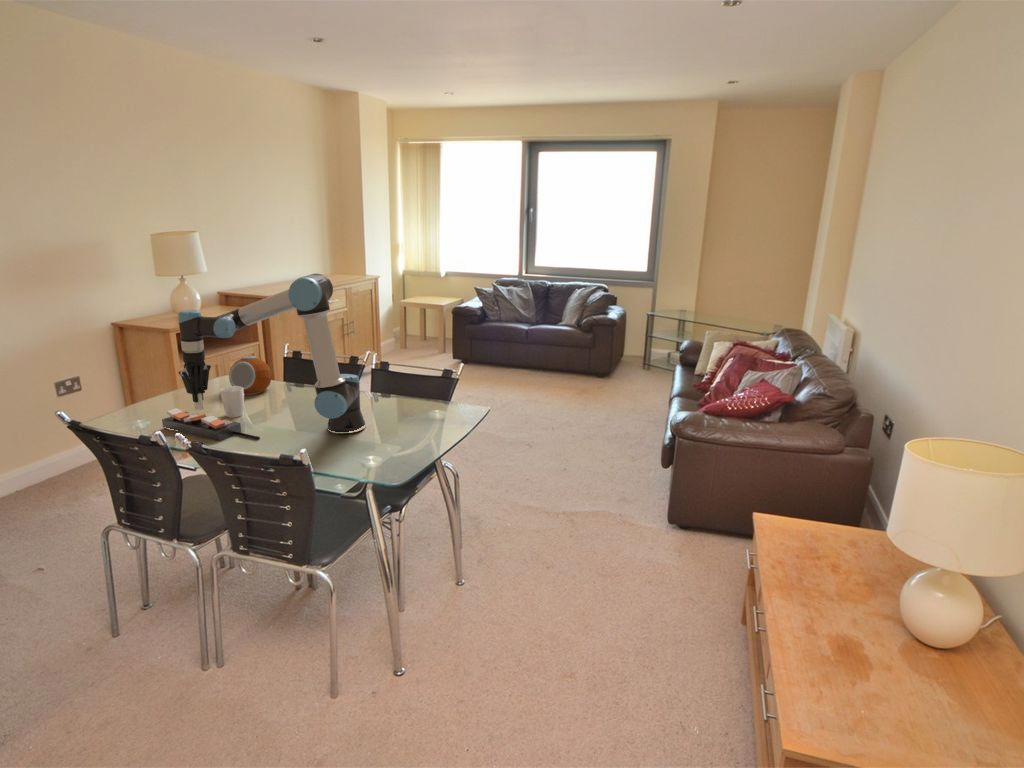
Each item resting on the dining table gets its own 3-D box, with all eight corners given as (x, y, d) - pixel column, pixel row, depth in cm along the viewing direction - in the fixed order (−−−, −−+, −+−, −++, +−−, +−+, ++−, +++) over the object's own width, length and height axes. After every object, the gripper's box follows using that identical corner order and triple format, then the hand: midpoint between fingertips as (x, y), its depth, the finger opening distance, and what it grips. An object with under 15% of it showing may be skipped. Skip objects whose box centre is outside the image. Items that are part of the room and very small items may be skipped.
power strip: (264, 437, 237) (263, 425, 235) (243, 446, 227) (241, 434, 226) (186, 420, 252) (185, 409, 250) (163, 428, 242) (161, 416, 240)
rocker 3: (224, 425, 235) (225, 422, 235) (215, 428, 231) (215, 425, 231) (211, 417, 237) (211, 415, 237) (201, 421, 233) (202, 418, 233)
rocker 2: (206, 416, 238) (205, 413, 238) (196, 420, 234) (195, 417, 234) (194, 418, 241) (193, 415, 241) (184, 421, 237) (183, 418, 237)
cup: (237, 419, 255) (234, 392, 251) (218, 417, 256) (215, 390, 253) (250, 412, 263) (247, 386, 260) (232, 410, 265) (229, 384, 262)
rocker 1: (189, 417, 242) (189, 414, 242) (179, 420, 238) (179, 418, 237) (176, 410, 244) (176, 408, 243) (166, 413, 240) (166, 411, 239)
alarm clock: (222, 394, 287) (219, 359, 282) (244, 384, 303) (241, 351, 298) (259, 397, 284) (256, 362, 279) (279, 387, 301) (276, 354, 296)
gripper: (200, 346, 236) (205, 403, 242) (170, 352, 224) (177, 412, 231) (214, 348, 233) (219, 406, 240) (185, 355, 221) (192, 415, 228)
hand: (199, 409), depth 235 cm, fingers closed
